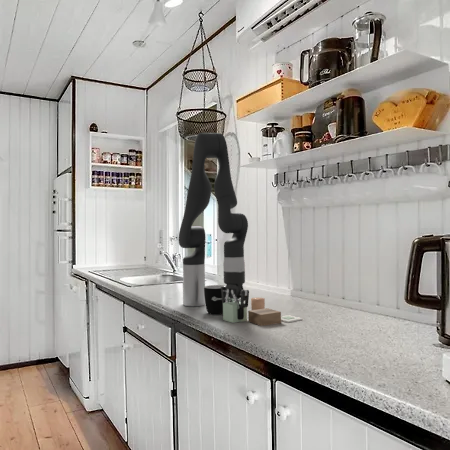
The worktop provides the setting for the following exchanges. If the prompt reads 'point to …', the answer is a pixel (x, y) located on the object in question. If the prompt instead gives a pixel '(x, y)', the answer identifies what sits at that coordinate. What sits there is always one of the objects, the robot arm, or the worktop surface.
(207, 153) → the robot arm
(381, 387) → the worktop surface
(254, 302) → the terracotta cylinder
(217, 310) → the mug
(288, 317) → the tile
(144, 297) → the worktop surface
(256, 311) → the walnut block
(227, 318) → the sage cube
